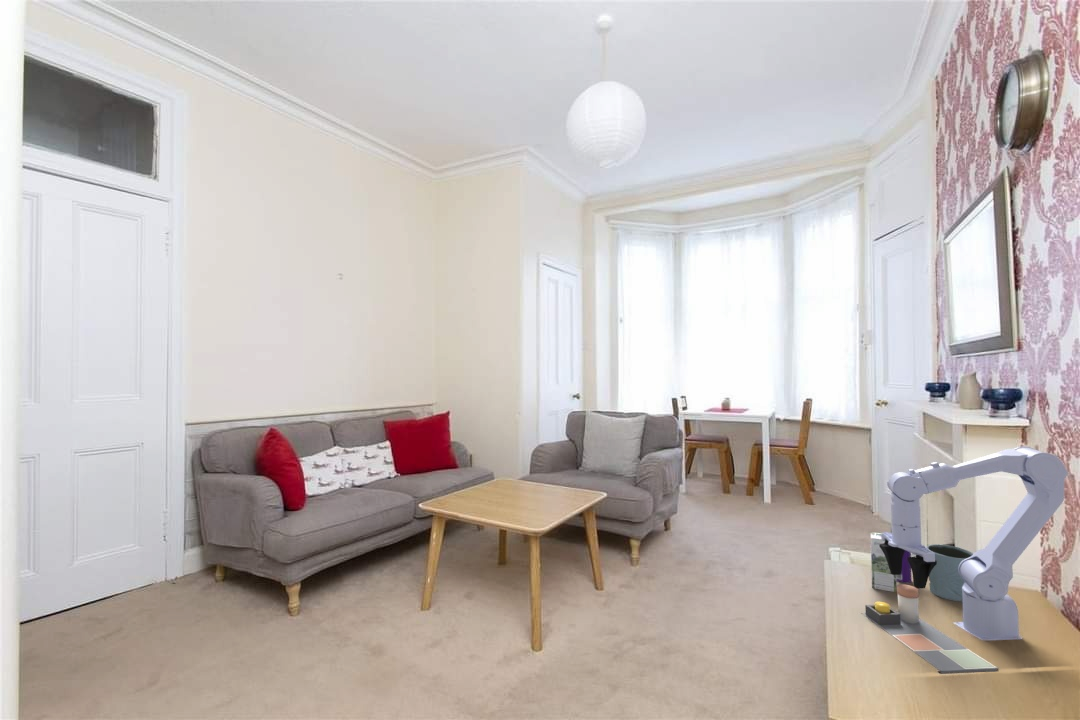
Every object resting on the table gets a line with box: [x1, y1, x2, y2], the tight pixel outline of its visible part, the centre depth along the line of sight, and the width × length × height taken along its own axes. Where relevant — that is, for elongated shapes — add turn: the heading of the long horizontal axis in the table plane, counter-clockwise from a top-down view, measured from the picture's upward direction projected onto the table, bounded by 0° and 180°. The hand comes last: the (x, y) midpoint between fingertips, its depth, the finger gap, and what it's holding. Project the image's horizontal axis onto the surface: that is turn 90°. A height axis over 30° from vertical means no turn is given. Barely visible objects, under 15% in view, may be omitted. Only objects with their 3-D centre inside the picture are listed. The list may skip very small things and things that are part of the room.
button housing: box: [864, 604, 901, 625], centre depth 123 cm, size 5×5×2 cm
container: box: [890, 525, 913, 584], centre depth 145 cm, size 5×5×15 cm
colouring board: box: [860, 612, 999, 675], centre depth 115 cm, size 12×24×1 cm, turn 2°
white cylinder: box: [896, 583, 920, 624], centre depth 123 cm, size 4×4×8 cm
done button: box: [874, 601, 891, 613], centre depth 123 cm, size 3×3×3 cm
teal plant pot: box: [925, 543, 974, 603], centre depth 136 cm, size 10×10×12 cm
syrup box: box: [870, 531, 898, 593], centre depth 141 cm, size 6×6×14 cm
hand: (907, 580), depth 123 cm, fingers open, 7 cm apart
